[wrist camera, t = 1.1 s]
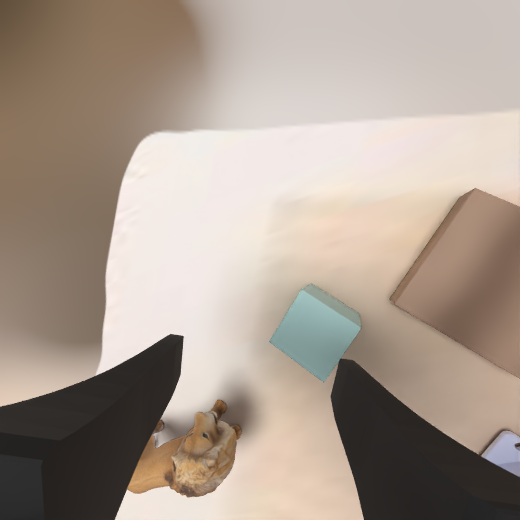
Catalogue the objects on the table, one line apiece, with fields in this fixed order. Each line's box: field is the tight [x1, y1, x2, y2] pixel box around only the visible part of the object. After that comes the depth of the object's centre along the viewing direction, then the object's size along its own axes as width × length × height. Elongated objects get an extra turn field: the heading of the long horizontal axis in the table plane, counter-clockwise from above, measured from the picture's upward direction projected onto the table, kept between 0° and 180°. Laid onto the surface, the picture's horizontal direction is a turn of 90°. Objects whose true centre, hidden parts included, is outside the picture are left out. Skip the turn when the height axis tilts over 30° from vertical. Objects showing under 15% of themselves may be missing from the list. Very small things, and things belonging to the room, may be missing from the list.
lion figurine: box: [127, 400, 241, 497], centre depth 22 cm, size 15×5×9 cm, turn 123°
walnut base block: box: [390, 188, 520, 378], centre depth 17 cm, size 9×9×2 cm
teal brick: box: [269, 284, 361, 382], centre depth 20 cm, size 4×4×5 cm
